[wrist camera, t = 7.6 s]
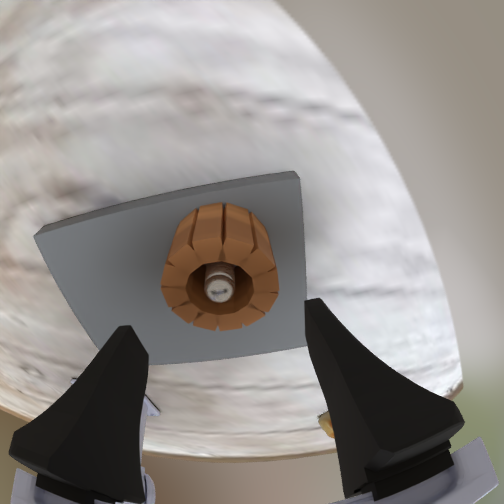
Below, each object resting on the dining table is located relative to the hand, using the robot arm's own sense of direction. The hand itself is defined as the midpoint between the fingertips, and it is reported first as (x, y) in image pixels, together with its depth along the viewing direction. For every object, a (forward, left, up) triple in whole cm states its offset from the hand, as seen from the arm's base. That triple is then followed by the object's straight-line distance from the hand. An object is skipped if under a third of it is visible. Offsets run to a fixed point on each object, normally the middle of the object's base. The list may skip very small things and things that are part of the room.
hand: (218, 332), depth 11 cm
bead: (0, 0, -7) cm, 7 cm away
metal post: (0, 0, -7) cm, 7 cm away
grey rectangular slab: (-4, -3, -8) cm, 10 cm away
